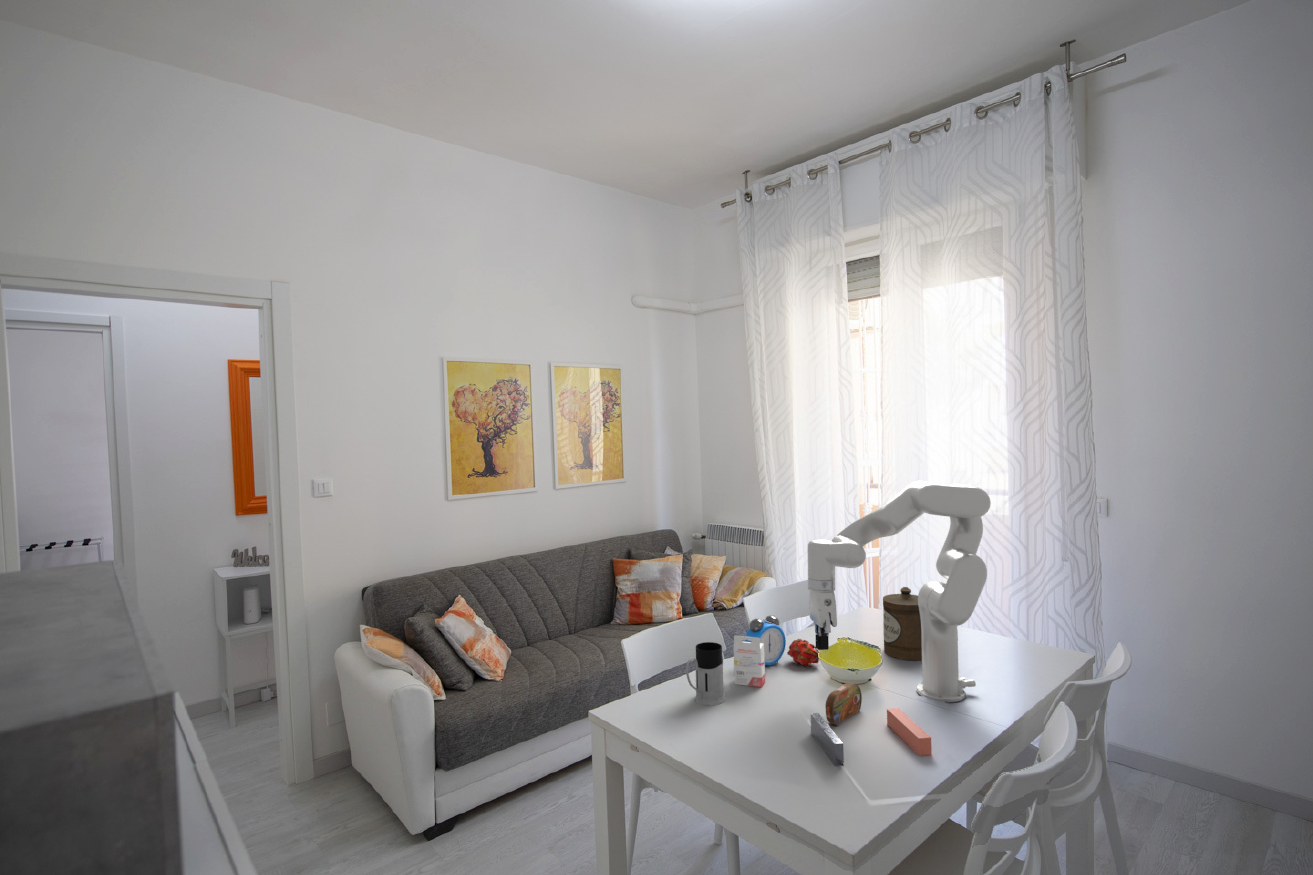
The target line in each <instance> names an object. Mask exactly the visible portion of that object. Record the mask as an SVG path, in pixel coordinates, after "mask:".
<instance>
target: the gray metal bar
mask: <svg viewBox="0 0 1313 875" xmlns="http://www.w3.org/2000/svg"><path fill="white" fill-rule="evenodd" d="M810 734H811V735H812V737H813V738H814V739H815V741H816V742H817V744H818V745H819V746H820V748H821V749H822V750H823V751H824V753H825V754H826V755H827V757H828V758H829V760H830V761H831V762H832V764H833V765H834V766H835V767H840V766H844V764H843V763H845V762H844V753H845V752H844V742H843V741H842V740H841V739H840V737H839V736H838V735H837V734H836V733H835V731H834V730H833V729H832V727H831V726H830V725H829V724H828V723H827V722H826V720H825V719H824V718H823V716H821V714H820V713H819V712H813V713H812V712H811V713H810Z"/></svg>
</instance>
